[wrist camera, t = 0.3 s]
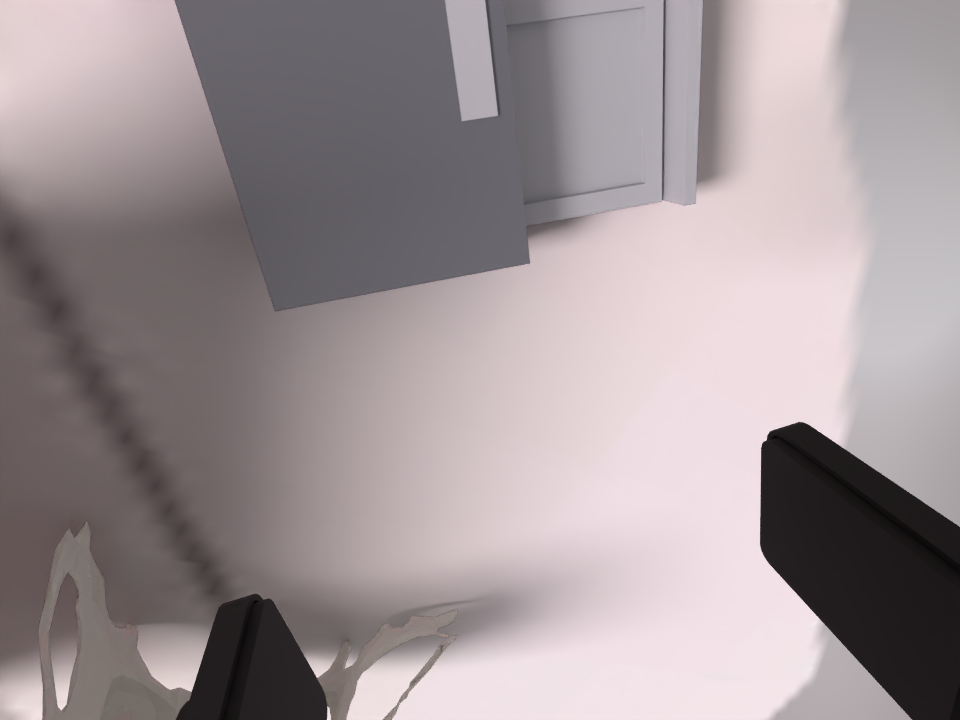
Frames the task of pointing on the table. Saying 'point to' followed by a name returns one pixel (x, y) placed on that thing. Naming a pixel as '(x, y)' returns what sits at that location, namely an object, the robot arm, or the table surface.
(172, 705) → the sculpture
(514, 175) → the box
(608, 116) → the tray
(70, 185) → the table surface
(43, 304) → the table surface
